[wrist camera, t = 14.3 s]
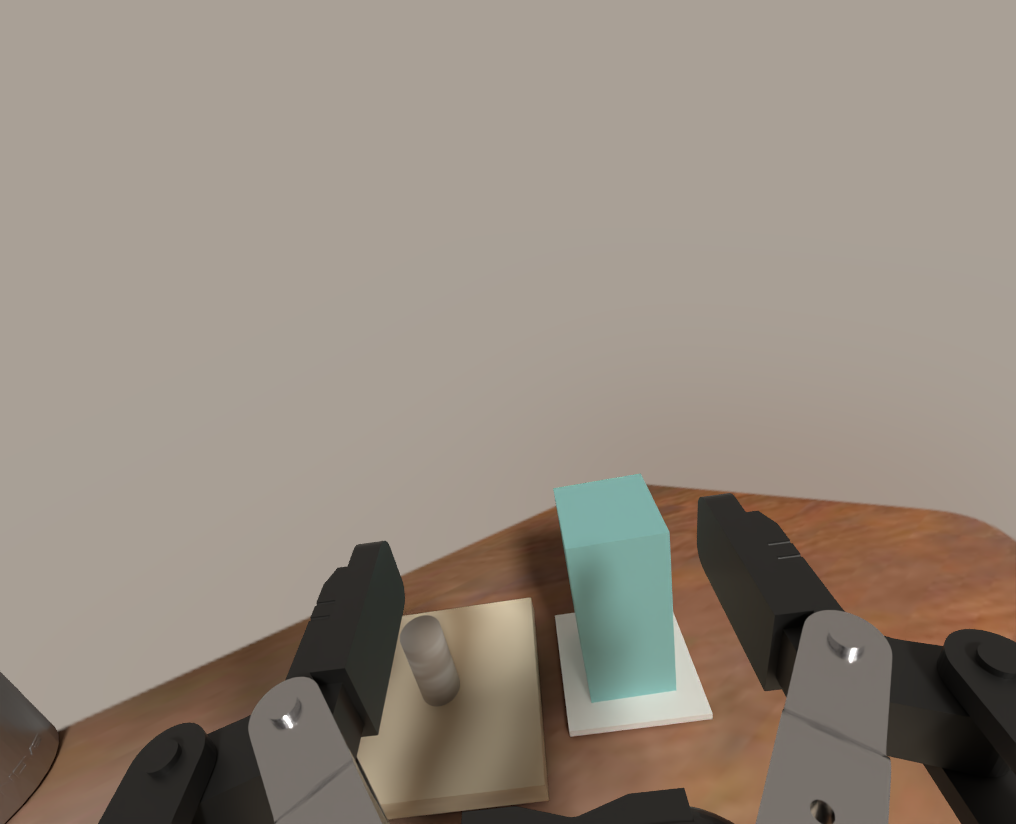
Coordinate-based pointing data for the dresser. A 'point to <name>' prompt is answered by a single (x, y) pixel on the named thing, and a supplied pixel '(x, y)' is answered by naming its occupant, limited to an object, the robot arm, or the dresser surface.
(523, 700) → the post stand
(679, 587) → the dresser surface
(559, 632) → the mat
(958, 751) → the robot arm
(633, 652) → the tall teal pillar
